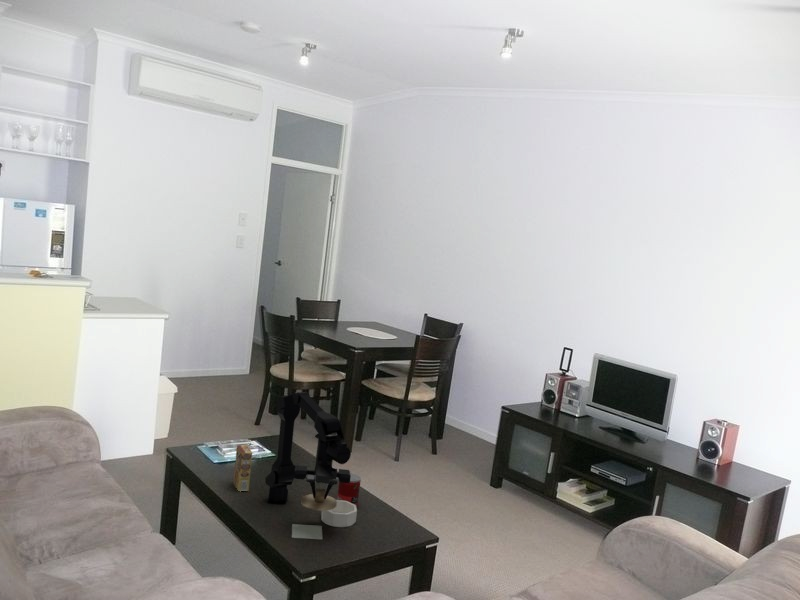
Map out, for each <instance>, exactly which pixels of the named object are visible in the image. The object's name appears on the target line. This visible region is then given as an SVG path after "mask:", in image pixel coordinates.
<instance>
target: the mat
mask: <svg viewBox="0 0 800 600" xmlns="http://www.w3.org/2000/svg"><path fill="white" fill-rule="evenodd" d="M322 528H323V526H322V525H316V524H315V525H314V524H313V525H312V524H311V525H310V524H309V525H308V524H297V523H296V524H295V523H292V525H291V538H294V539H308V540H309V539H311V540H323V529H322Z"/></svg>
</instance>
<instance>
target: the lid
mask: <svg viewBox="0 0 800 600" xmlns="http://www.w3.org/2000/svg"><path fill="white" fill-rule="evenodd" d="M325 490H326V488H323V487H315V499H314V497H313V493H311V494H310V493H309V494H306V495H303V496H302V497H301V501H300V504H301V505H302V506H303V507H304V508H307V509H310V510H313V511H318V512H322V511H326V510H331V509H334V508H335V507H336V505H337V501H336V500H337V499H336V498H334V497H332V496H330V495H329V494H328V495H327V497H326V499H324V496H325Z"/></svg>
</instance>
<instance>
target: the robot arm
mask: <svg viewBox="0 0 800 600" xmlns="http://www.w3.org/2000/svg"><path fill="white" fill-rule="evenodd" d="M301 409H302V411H303V412H304V413H305V414H306V415H307V416H308V417H309V418H310V420H312V422H313V427H314V430H315V431H316V432H317V433H316V434H315V435H314V438H316V439H317V447H316V454H315V462H314V469H308V466H307V465H306V466H305V465H295V464H294V462H293V460H292V452H293V442H294V440H293V439H294V427H295V420H296V419H297V417H298V416H299V415H300V412H301ZM276 413H277V414H278V417H279V419H280V423H279V434H278V435H279V436H278V447H277V458H276V459H275V460H274V462H273V464H272V465H271V471H270V473H269V474H268V475H267V476H265V481H264V482H265V485H266V486H268V487H269V489H268V497H267V504H276V505H280V504H281V505H286V504H287V502H288V497H289V496H288V494H289V487H288V486H290V485H291V486H292V484H293V483H294V480H295V479H296V480H305V479H306V480H305V481H306V482H307V483H309V485H310V488H311V492H312V494H313V497H314V499H315V492H316V483H317V484H325V485H326V487H325V496H324V499H326V497H327V495H328V496H329V493H330V491H331V489H332V487H333V486H335V485H338V484H339V481H340V482H341V483H350V478H351V475H350V474H351V471H350V469H344V468H339V469H338V468H334V467H333V462H336V463H338V464H340V465H345V464H347V462H349V460H350V458H351V455H352V453H351V450H350V449H349V447H347V446H348V443H347V442H344V441H345V436H344V435H345V434H344V431H343V428H342V424H341V421H340V419H339V418H338V416H337V417H336V415H334V414H331V413H328V412H326V411H325V410H324V409H323V408H322V407H321V406H320V405H319V404H318V403H317V402H316V401H315V400H314V399H313V398H312V397H311V396H310V393H308V392H307V391H301V392H295V393H293V394H290V395H282V396H281V395H280V396H279V398H278V399H277V401H276Z"/></svg>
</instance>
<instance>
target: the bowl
mask: <svg viewBox="0 0 800 600" xmlns="http://www.w3.org/2000/svg"><path fill="white" fill-rule="evenodd" d="M335 500H336V501H337V505H336V507H335V508H334V509H331V510H326V511H321V512H320V513H321V518H320V519H321V521H322V522H323V523H324V524H326V525H327V526H331V527H335V528H348V527H351V526H353V525H355V523H356V521H357V515H358V513H357V512H358V509H357V507H356V505H354V504H352V503H350V502H348V501H343V500H337V499H335Z"/></svg>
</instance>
